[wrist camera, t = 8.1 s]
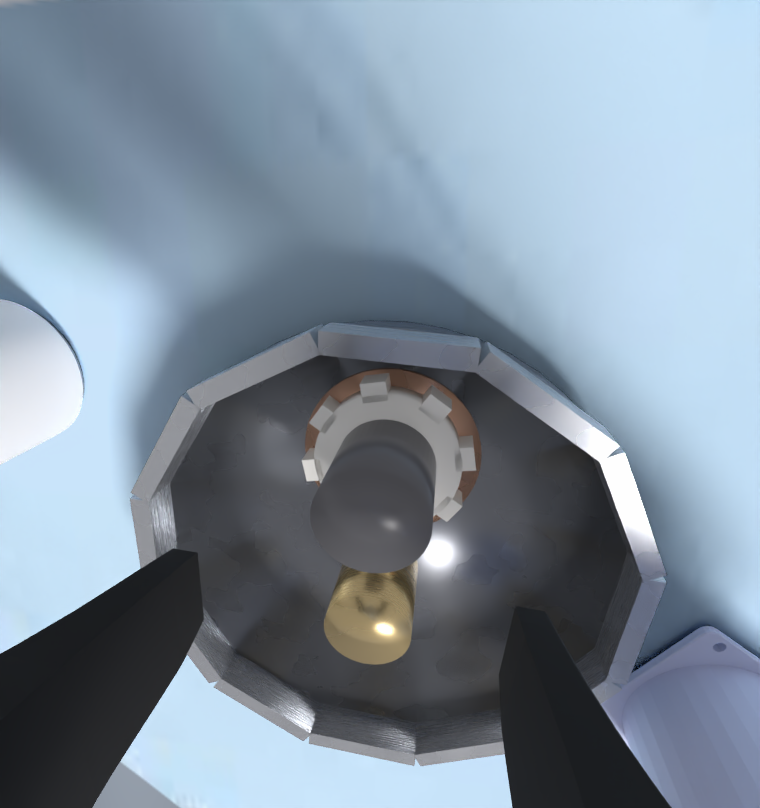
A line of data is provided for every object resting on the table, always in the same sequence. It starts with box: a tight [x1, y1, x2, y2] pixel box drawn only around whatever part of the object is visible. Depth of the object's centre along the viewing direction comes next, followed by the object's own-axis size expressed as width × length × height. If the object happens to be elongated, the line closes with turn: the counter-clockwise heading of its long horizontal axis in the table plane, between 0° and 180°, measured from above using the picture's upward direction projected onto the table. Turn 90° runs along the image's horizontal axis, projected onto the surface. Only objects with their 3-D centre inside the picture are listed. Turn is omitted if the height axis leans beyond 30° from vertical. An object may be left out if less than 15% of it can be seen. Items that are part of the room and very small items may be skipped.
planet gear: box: [302, 373, 476, 573], centre depth 15 cm, size 6×6×4 cm
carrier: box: [130, 321, 667, 766], centre depth 18 cm, size 21×21×5 cm
